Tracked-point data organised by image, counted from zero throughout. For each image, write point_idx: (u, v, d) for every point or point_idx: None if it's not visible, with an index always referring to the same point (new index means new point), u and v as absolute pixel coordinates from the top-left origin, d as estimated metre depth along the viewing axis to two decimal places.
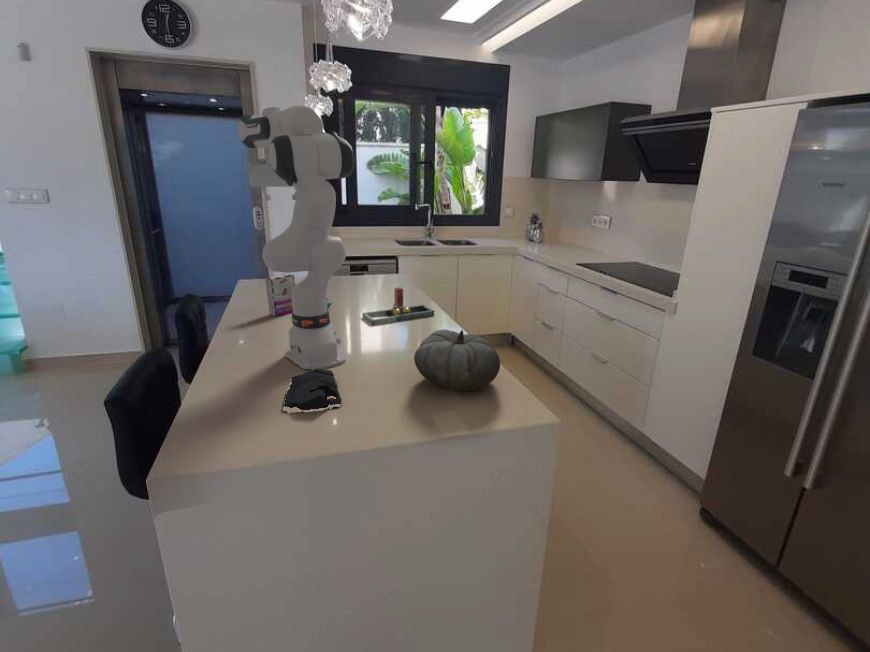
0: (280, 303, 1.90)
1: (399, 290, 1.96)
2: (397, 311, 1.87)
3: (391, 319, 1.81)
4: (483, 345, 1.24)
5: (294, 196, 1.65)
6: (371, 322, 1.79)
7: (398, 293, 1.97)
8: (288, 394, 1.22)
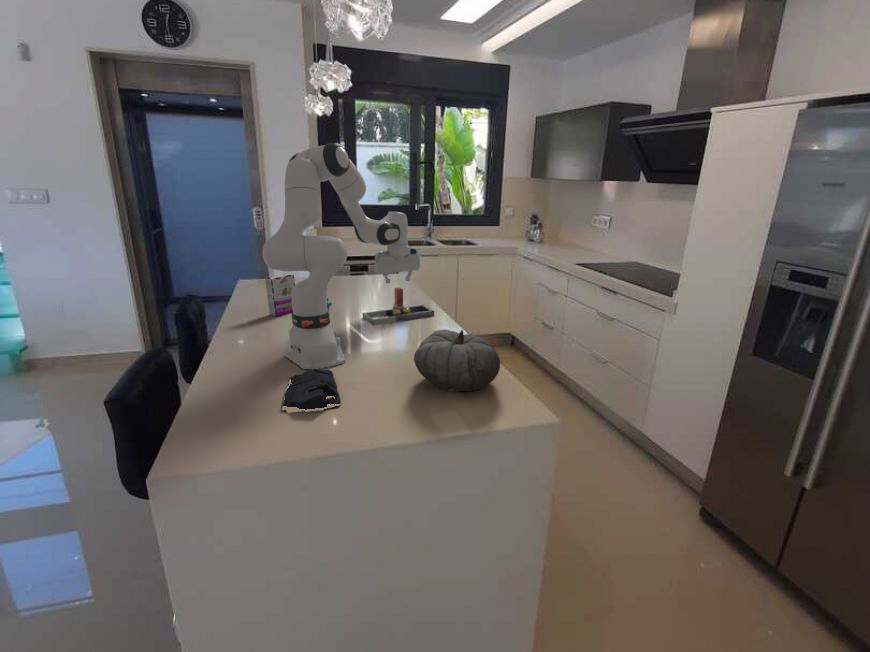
0: (280, 303, 1.90)
1: (399, 290, 1.96)
2: (397, 311, 1.87)
3: (391, 319, 1.81)
4: (483, 345, 1.24)
5: (408, 278, 1.98)
6: (371, 322, 1.79)
7: (398, 293, 1.97)
8: (287, 393, 1.23)
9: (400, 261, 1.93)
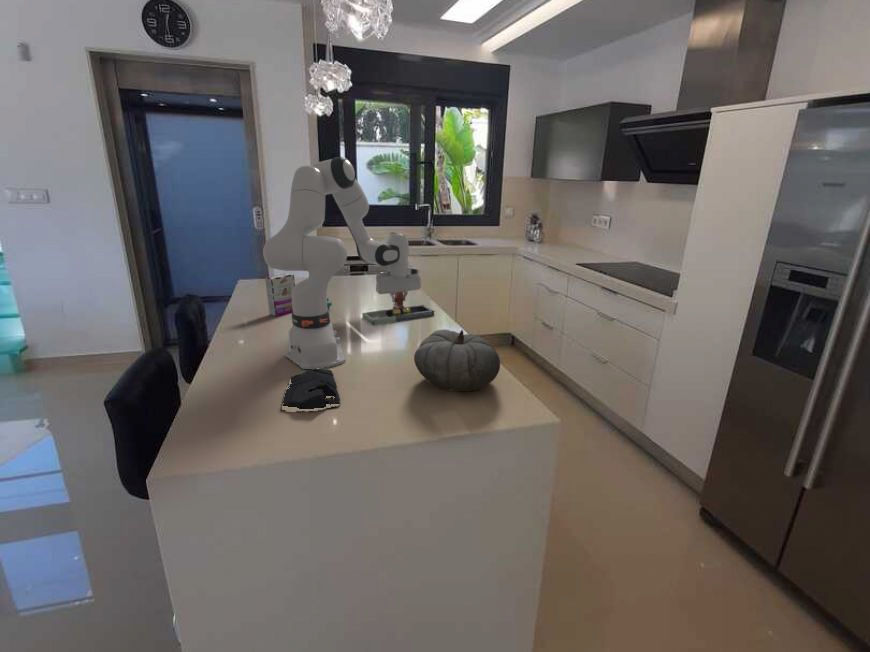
0: (280, 303, 1.90)
1: None
2: (397, 311, 1.87)
3: (391, 319, 1.81)
4: (483, 345, 1.24)
5: (403, 298, 1.99)
6: (371, 322, 1.79)
7: (398, 293, 1.97)
8: (287, 393, 1.23)
9: (401, 281, 1.95)
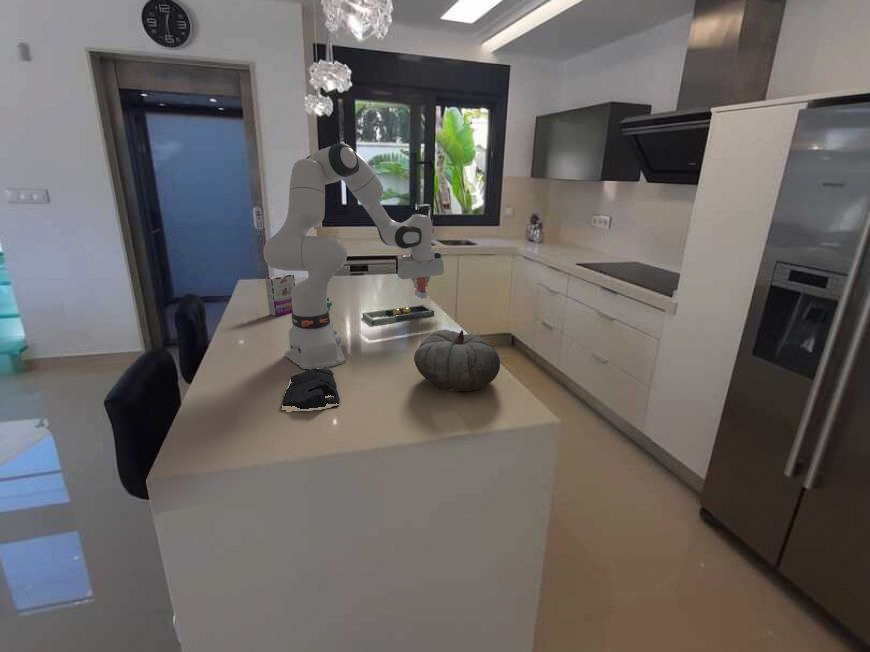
0: (280, 303, 1.90)
1: None
2: (397, 311, 1.87)
3: (391, 319, 1.81)
4: (483, 345, 1.24)
5: (425, 284, 1.90)
6: (371, 322, 1.79)
7: (420, 278, 1.88)
8: (287, 393, 1.23)
9: (424, 266, 1.86)
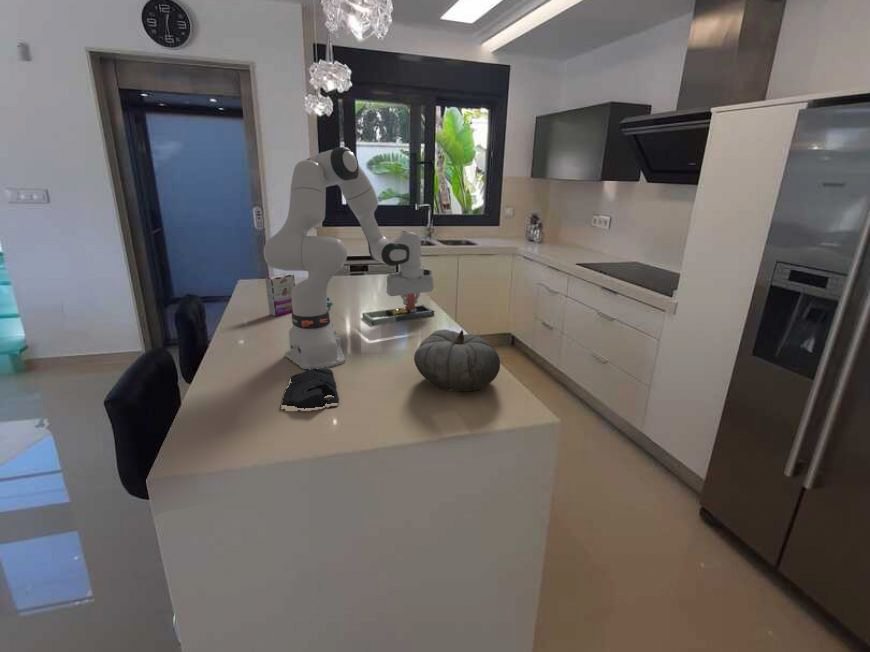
0: (280, 303, 1.90)
1: None
2: (396, 311, 1.86)
3: (391, 319, 1.81)
4: (483, 345, 1.24)
5: (415, 300, 1.89)
6: (371, 322, 1.79)
7: (409, 295, 1.87)
8: (287, 392, 1.23)
9: (413, 282, 1.86)
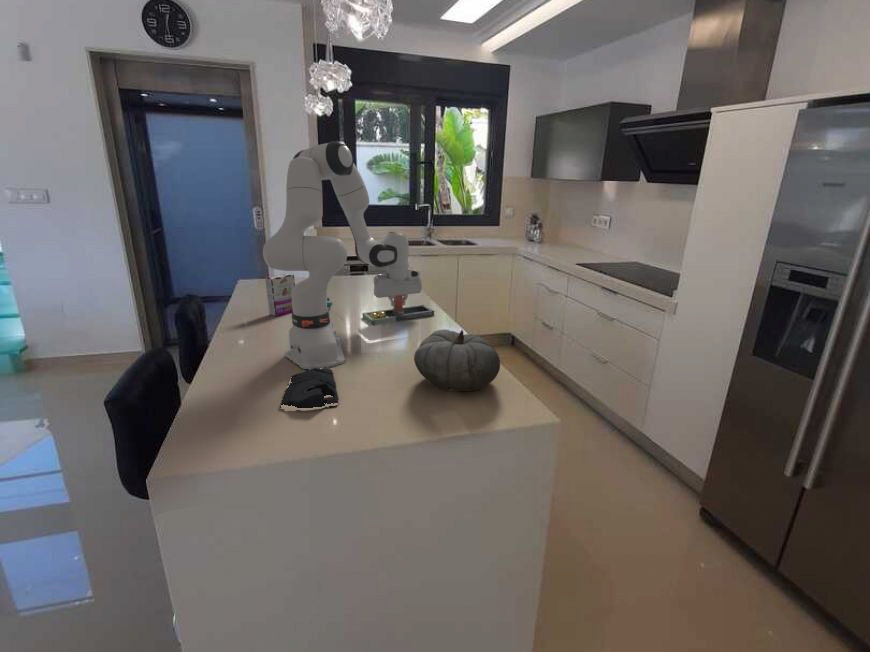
0: (280, 303, 1.90)
1: None
2: (375, 315, 1.82)
3: (391, 319, 1.81)
4: (483, 345, 1.24)
5: (403, 302, 1.87)
6: (371, 322, 1.79)
7: (397, 297, 1.84)
8: (286, 392, 1.23)
9: (400, 284, 1.83)
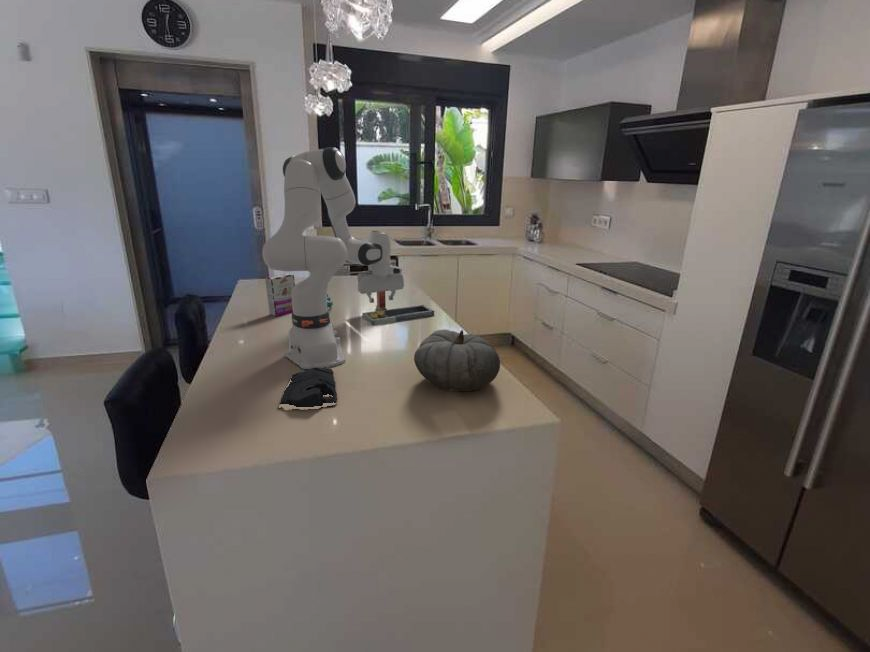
0: (280, 303, 1.90)
1: (381, 292, 1.93)
2: (375, 314, 1.82)
3: (391, 319, 1.81)
4: (483, 345, 1.24)
5: (391, 297, 1.97)
6: (371, 322, 1.79)
7: (380, 295, 1.93)
8: (286, 391, 1.24)
9: (383, 280, 1.92)
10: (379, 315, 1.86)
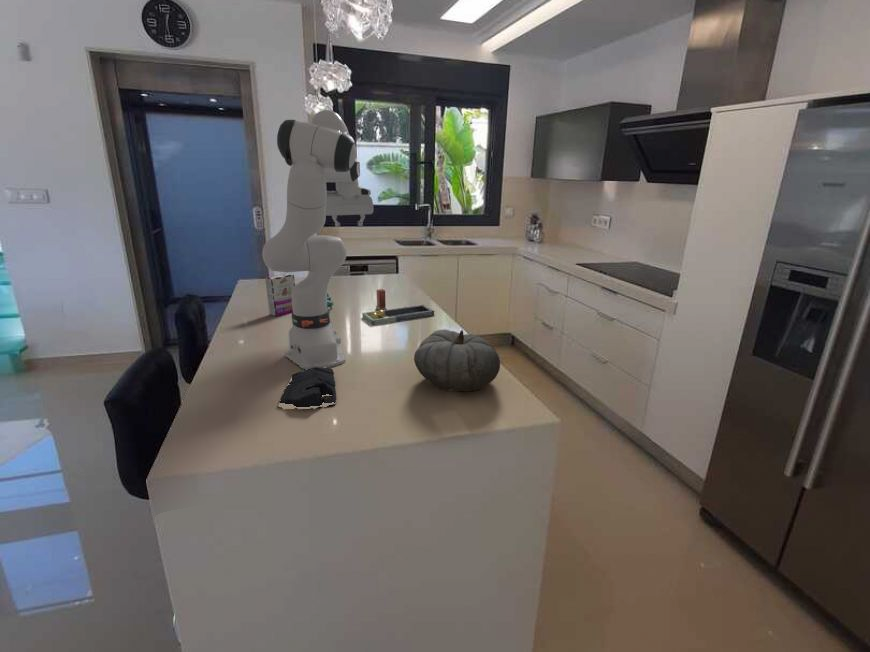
0: (280, 303, 1.90)
1: (381, 292, 1.93)
2: (375, 314, 1.83)
3: (391, 319, 1.81)
4: (483, 345, 1.24)
5: (360, 223, 1.83)
6: (371, 322, 1.79)
7: (380, 295, 1.93)
8: (286, 390, 1.24)
9: (350, 202, 1.78)
10: (379, 315, 1.86)
